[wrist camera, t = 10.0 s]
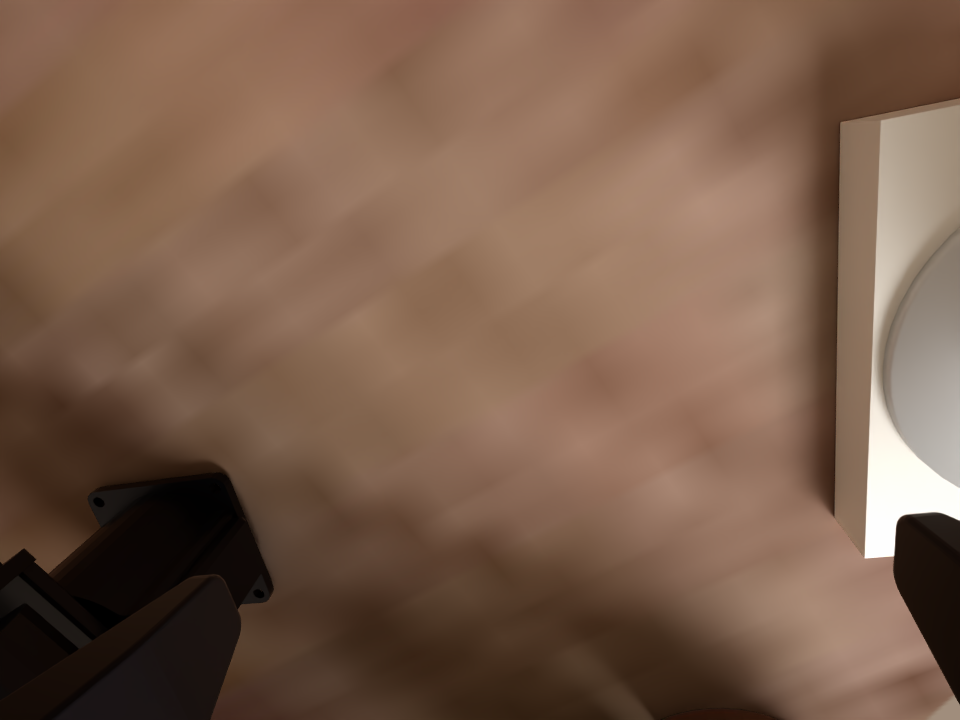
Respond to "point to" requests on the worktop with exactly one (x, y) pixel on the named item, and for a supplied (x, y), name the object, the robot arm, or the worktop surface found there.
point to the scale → (898, 322)
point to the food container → (719, 715)
